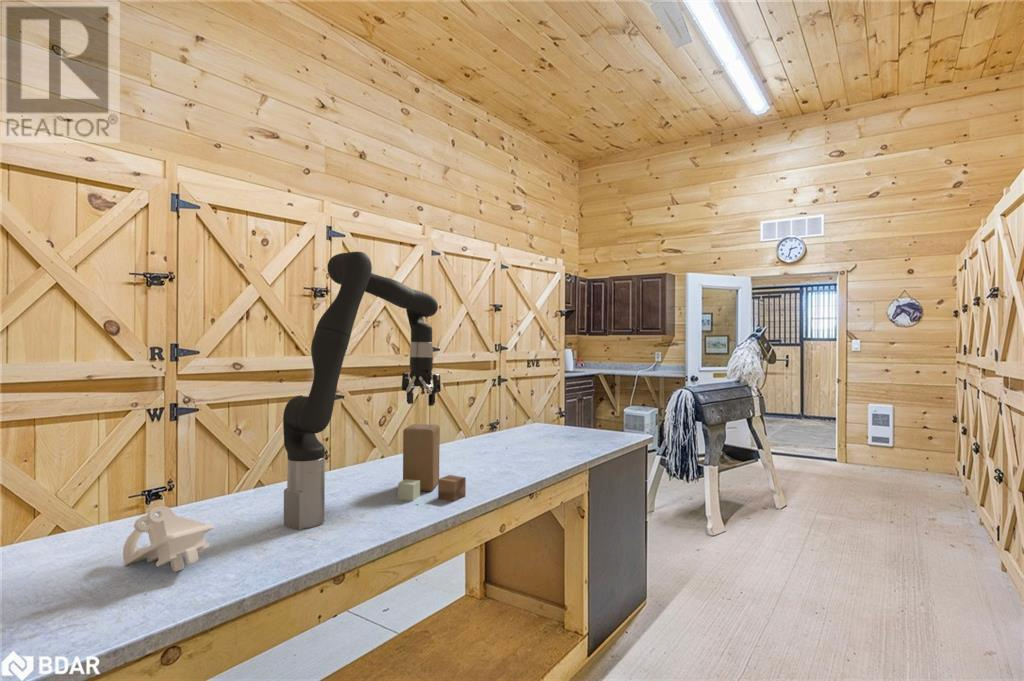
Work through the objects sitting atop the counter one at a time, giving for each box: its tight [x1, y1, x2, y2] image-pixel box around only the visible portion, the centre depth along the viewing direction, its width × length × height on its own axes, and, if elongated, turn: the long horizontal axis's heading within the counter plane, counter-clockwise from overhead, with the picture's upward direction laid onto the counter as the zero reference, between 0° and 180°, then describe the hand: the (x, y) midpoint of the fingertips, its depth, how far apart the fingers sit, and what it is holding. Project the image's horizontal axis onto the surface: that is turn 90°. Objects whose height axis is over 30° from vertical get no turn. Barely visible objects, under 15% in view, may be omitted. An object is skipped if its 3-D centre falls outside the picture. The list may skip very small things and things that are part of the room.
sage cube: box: [397, 479, 421, 502], centre depth 164 cm, size 5×5×5 cm
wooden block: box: [402, 423, 441, 492], centre depth 175 cm, size 10×10×20 cm
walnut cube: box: [437, 474, 467, 502], centre depth 165 cm, size 6×6×6 cm
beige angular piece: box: [122, 505, 214, 573], centre depth 113 cm, size 20×11×13 cm, turn 57°
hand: (420, 404), depth 177 cm, fingers open, 8 cm apart
